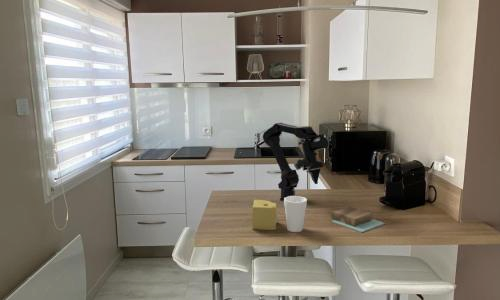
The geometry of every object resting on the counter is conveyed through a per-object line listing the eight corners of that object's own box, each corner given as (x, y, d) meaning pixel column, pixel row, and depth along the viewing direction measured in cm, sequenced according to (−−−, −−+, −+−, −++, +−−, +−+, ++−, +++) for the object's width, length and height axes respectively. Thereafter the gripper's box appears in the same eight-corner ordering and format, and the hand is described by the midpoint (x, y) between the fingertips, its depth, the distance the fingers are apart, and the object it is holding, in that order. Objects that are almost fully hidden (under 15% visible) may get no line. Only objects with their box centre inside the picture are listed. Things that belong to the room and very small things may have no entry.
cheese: (277, 222, 174) (277, 200, 172) (276, 231, 163) (276, 207, 162) (253, 221, 175) (253, 199, 173) (251, 230, 164) (251, 207, 163)
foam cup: (292, 235, 159) (293, 204, 156) (279, 228, 166) (279, 198, 164) (310, 230, 164) (311, 200, 161) (296, 223, 171) (297, 194, 169)
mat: (331, 221, 174) (331, 220, 174) (354, 214, 184) (354, 213, 183) (362, 232, 161) (362, 231, 161) (384, 223, 171) (384, 223, 171)
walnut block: (332, 211, 175) (354, 218, 166) (349, 206, 183) (371, 213, 173) (332, 219, 176) (354, 226, 167) (349, 213, 183) (371, 220, 174)
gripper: (289, 156, 199) (296, 186, 198) (297, 153, 181) (303, 187, 180) (311, 152, 200) (317, 182, 199) (320, 149, 182) (327, 182, 181)
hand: (316, 183), depth 190 cm, fingers closed
